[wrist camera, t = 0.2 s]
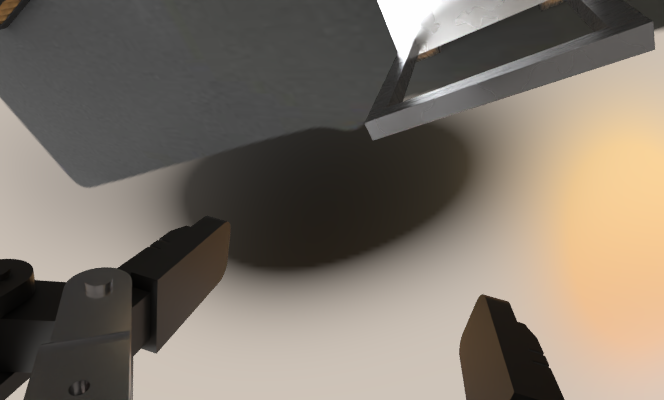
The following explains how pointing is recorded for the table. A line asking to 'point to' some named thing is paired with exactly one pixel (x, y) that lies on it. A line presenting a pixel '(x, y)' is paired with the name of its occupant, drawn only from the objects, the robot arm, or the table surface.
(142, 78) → the table surface
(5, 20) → the ammunition clip
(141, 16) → the table surface
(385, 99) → the trolley
